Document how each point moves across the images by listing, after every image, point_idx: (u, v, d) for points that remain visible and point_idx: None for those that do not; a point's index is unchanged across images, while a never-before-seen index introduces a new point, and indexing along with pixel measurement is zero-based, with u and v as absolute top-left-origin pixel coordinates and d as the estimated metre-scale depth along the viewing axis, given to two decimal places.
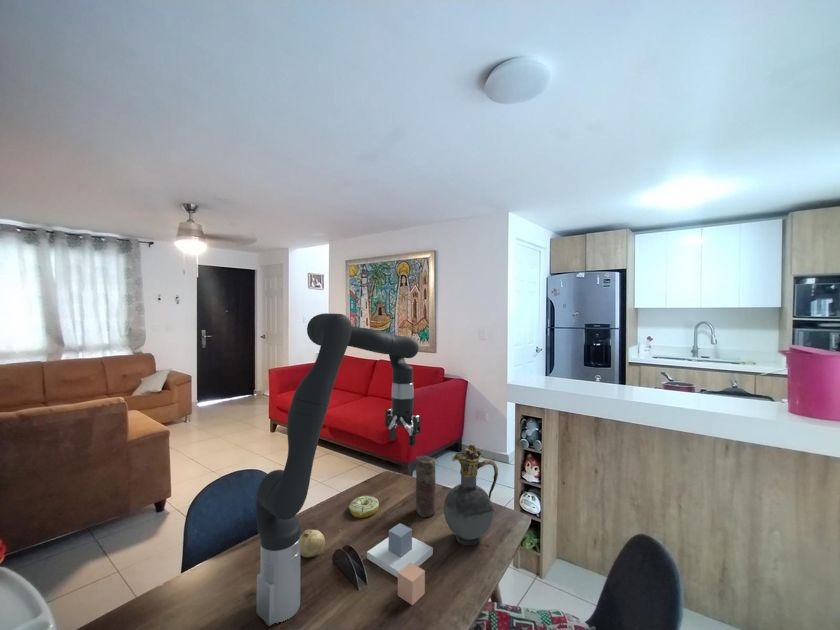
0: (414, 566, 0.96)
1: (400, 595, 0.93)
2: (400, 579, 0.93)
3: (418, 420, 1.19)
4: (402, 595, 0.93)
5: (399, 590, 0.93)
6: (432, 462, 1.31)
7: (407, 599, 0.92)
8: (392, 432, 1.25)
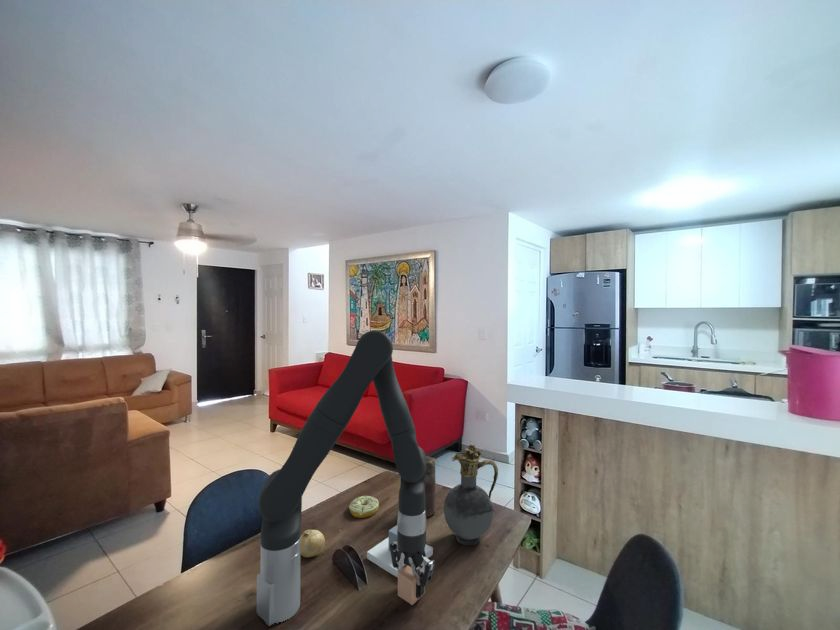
0: None
1: (400, 595, 0.93)
2: (400, 578, 0.93)
3: (432, 568, 0.90)
4: (402, 595, 0.93)
5: (399, 590, 0.93)
6: (432, 462, 1.31)
7: (407, 599, 0.92)
8: None
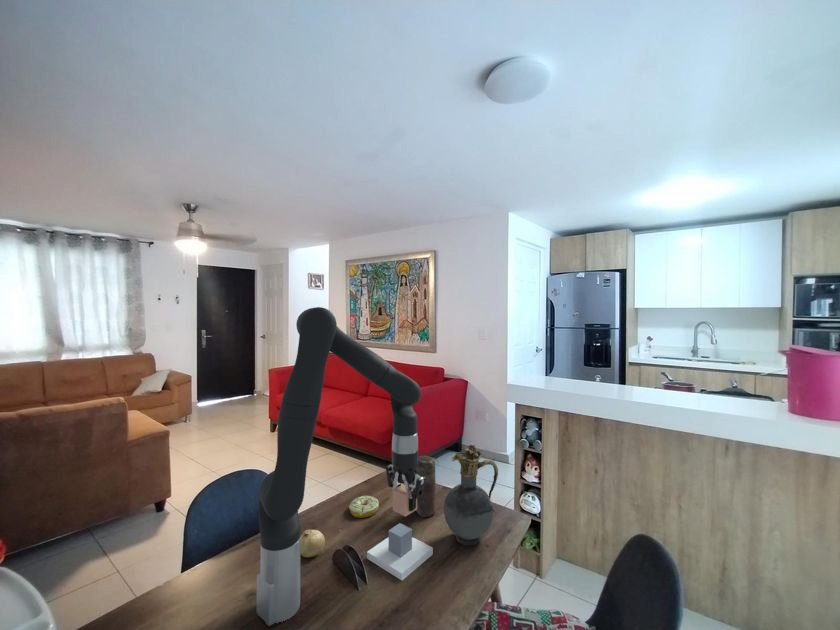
0: None
1: (395, 509, 1.03)
2: (395, 494, 1.03)
3: (422, 483, 1.00)
4: (396, 509, 1.03)
5: (394, 505, 1.03)
6: (432, 462, 1.31)
7: (401, 512, 1.02)
8: None
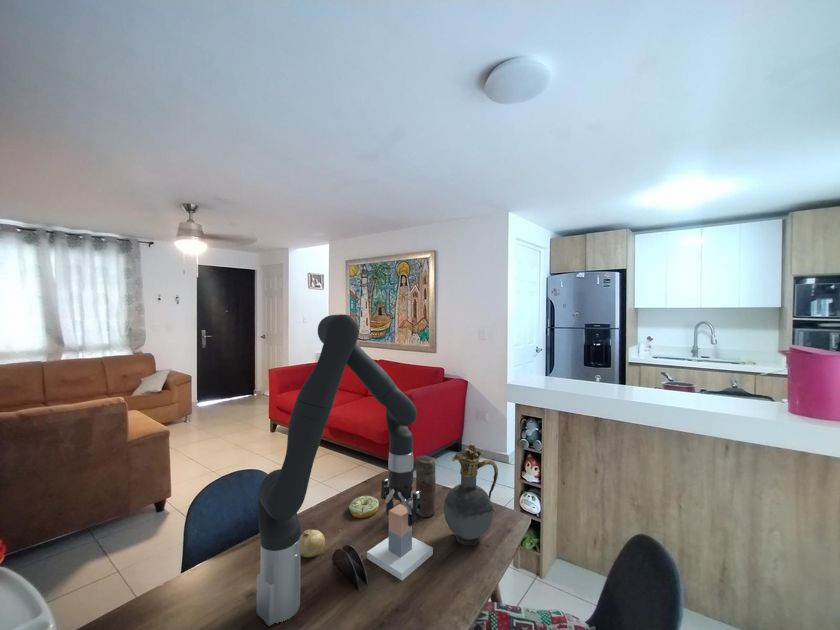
0: (403, 506, 1.11)
1: (391, 530, 1.08)
2: (391, 515, 1.08)
3: (418, 497, 1.04)
4: (392, 529, 1.07)
5: (390, 525, 1.08)
6: (432, 462, 1.31)
7: (397, 532, 1.06)
8: (389, 506, 1.11)
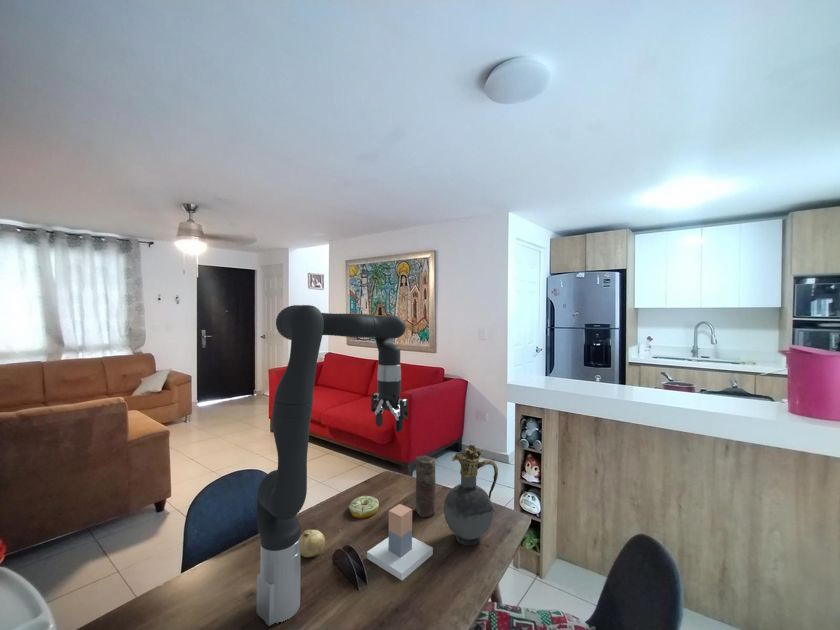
0: (403, 506, 1.11)
1: (391, 530, 1.08)
2: (391, 515, 1.08)
3: (405, 404, 1.11)
4: (392, 529, 1.07)
5: (390, 525, 1.08)
6: (432, 462, 1.31)
7: (397, 532, 1.06)
8: (378, 417, 1.18)
